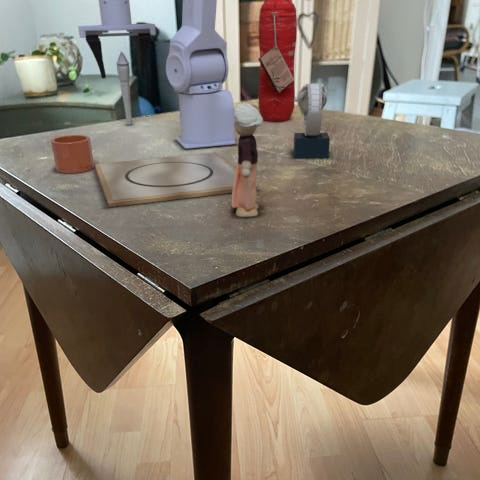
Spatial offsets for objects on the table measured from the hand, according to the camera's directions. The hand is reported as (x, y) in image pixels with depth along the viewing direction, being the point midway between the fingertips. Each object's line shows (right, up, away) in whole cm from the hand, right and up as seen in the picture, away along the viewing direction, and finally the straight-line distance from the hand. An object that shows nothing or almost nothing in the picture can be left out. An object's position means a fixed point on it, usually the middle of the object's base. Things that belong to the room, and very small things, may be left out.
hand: (122, 76), depth 109 cm
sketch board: (+13, -28, -29) cm, 43 cm away
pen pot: (-2, -25, -24) cm, 35 cm away
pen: (0, -8, +5) cm, 10 cm away
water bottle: (+31, -7, +6) cm, 33 cm away
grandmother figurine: (+25, -36, -42) cm, 61 cm away
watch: (+36, -22, -19) cm, 46 cm away
